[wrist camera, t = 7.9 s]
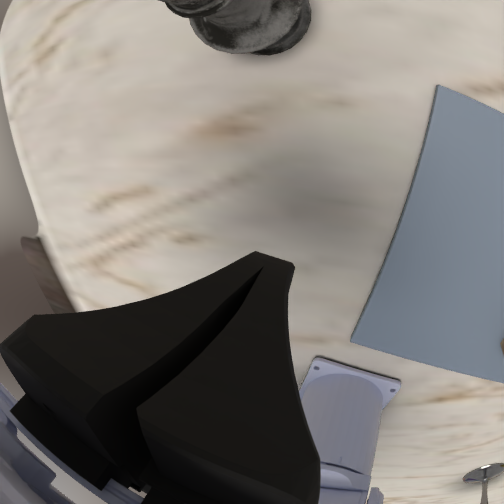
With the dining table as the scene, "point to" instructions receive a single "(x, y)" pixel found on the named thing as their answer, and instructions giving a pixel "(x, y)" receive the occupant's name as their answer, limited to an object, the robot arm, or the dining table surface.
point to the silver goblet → (484, 477)
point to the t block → (502, 346)
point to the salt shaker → (246, 23)
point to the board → (447, 249)
